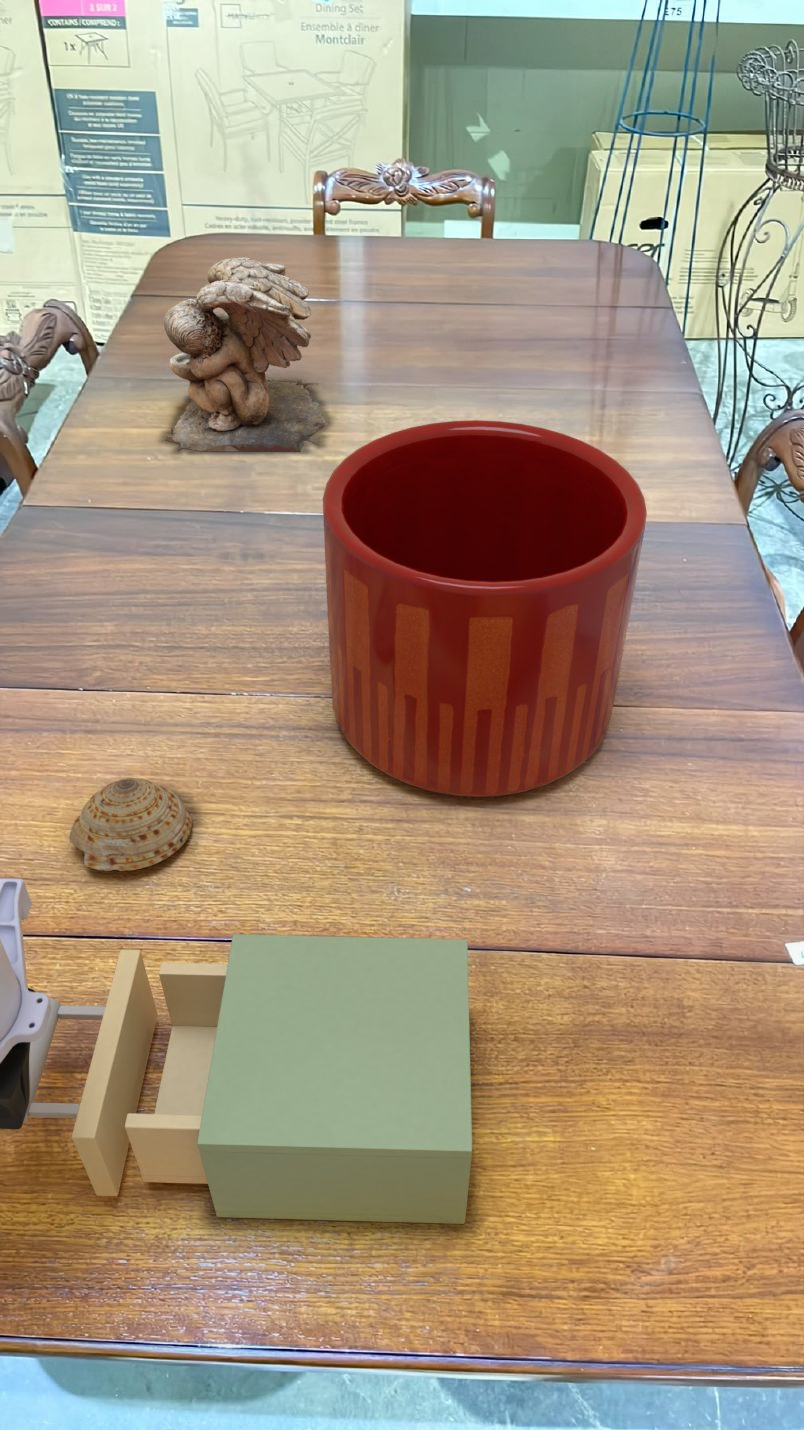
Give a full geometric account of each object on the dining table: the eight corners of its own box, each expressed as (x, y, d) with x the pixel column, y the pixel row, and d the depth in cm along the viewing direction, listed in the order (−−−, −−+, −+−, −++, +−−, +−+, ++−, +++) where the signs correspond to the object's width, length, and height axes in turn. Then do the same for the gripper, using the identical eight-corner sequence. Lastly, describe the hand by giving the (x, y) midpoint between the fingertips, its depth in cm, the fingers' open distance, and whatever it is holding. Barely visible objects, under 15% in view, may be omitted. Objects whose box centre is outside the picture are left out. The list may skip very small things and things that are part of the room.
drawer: (5, 1193, 59) (-28, 1134, 55) (59, 1011, 68) (34, 946, 63) (324, 1202, 59) (318, 1144, 54) (338, 1018, 67) (334, 953, 63)
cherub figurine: (189, 380, 135) (168, 231, 123) (332, 383, 134) (326, 234, 122) (160, 450, 122) (134, 292, 110) (319, 453, 121) (311, 295, 109)
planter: (647, 790, 83) (696, 573, 69) (349, 824, 80) (340, 604, 67) (567, 611, 100) (595, 408, 86) (319, 634, 97) (307, 428, 83)
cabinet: (216, 1217, 59) (196, 1143, 53) (246, 1015, 68) (232, 933, 63) (464, 1224, 59) (472, 1151, 53) (461, 1020, 68) (467, 939, 62)
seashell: (41, 848, 76) (91, 748, 79) (74, 873, 81) (121, 777, 84) (142, 882, 73) (190, 777, 76) (170, 905, 78) (214, 806, 81)
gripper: (-39, 1125, 38) (46, 1275, 47) (67, 817, 49) (119, 988, 58) (-238, 1120, 38) (-115, 1270, 47) (-89, 814, 49) (-12, 985, 58)
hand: (4, 1115), depth 52 cm, fingers closed
